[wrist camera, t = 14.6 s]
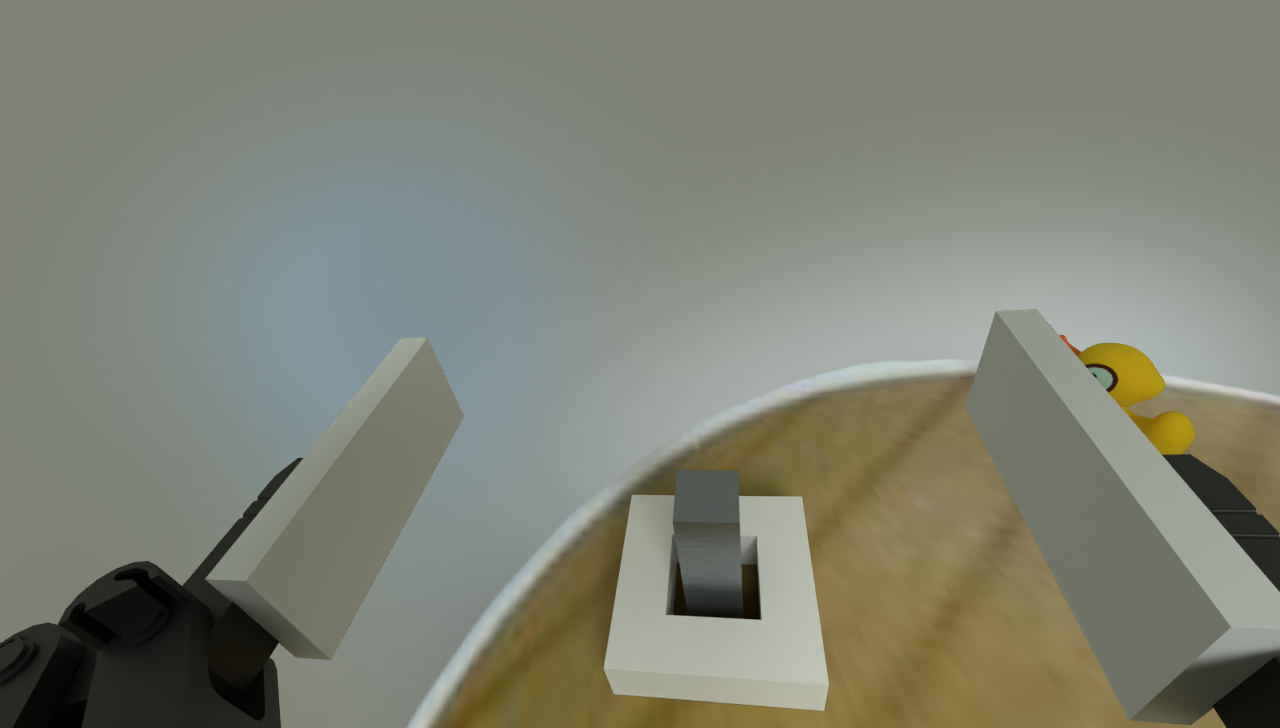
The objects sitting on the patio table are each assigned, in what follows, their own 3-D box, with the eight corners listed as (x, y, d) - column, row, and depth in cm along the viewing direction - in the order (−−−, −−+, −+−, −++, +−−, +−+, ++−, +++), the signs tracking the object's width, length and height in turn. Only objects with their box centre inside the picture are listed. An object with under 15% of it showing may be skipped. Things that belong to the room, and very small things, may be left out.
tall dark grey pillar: (742, 579, 42) (738, 470, 34) (743, 629, 39) (739, 522, 31) (691, 577, 43) (676, 470, 35) (689, 626, 40) (672, 521, 32)
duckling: (1007, 419, 52) (1039, 334, 46) (1043, 397, 53) (1079, 312, 47) (1142, 498, 43) (1204, 407, 37) (1181, 469, 45) (1246, 378, 39)
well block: (799, 526, 45) (801, 496, 43) (824, 710, 34) (828, 684, 32) (638, 523, 48) (632, 494, 45) (613, 694, 37) (603, 668, 35)
